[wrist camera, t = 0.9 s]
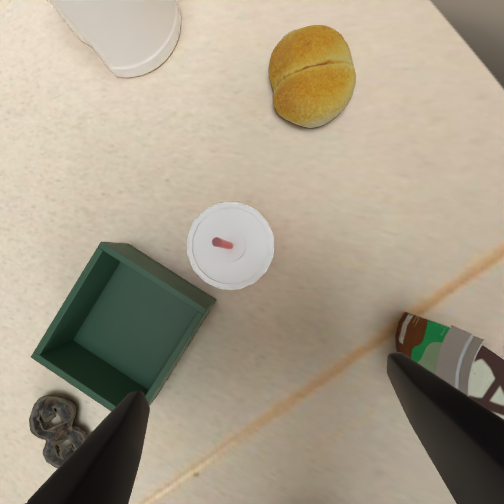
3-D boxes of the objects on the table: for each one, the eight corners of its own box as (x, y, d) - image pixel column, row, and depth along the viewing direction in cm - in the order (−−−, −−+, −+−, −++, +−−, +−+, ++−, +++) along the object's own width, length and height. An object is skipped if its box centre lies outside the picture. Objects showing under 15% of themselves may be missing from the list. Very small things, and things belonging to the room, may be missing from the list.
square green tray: (155, 397, 26) (133, 427, 22) (69, 340, 27) (30, 357, 22) (216, 299, 26) (206, 309, 22) (128, 243, 27) (100, 241, 22)
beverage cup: (233, 289, 26) (199, 329, 12) (201, 240, 26) (131, 225, 12) (282, 256, 26) (304, 259, 12) (249, 208, 26) (233, 154, 12)
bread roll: (278, 137, 26) (280, 116, 22) (264, 54, 26) (264, 18, 22) (357, 123, 26) (375, 99, 22) (343, 38, 26) (357, -1, 22)
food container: (357, 352, 26) (417, 414, 16) (392, 303, 25) (476, 334, 15) (460, 425, 25) (591, 538, 15) (496, 375, 25) (652, 456, 15)
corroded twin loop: (61, 471, 27) (52, 479, 26) (28, 402, 27) (19, 409, 26) (101, 450, 26) (95, 458, 25) (68, 382, 27) (60, 387, 26)
